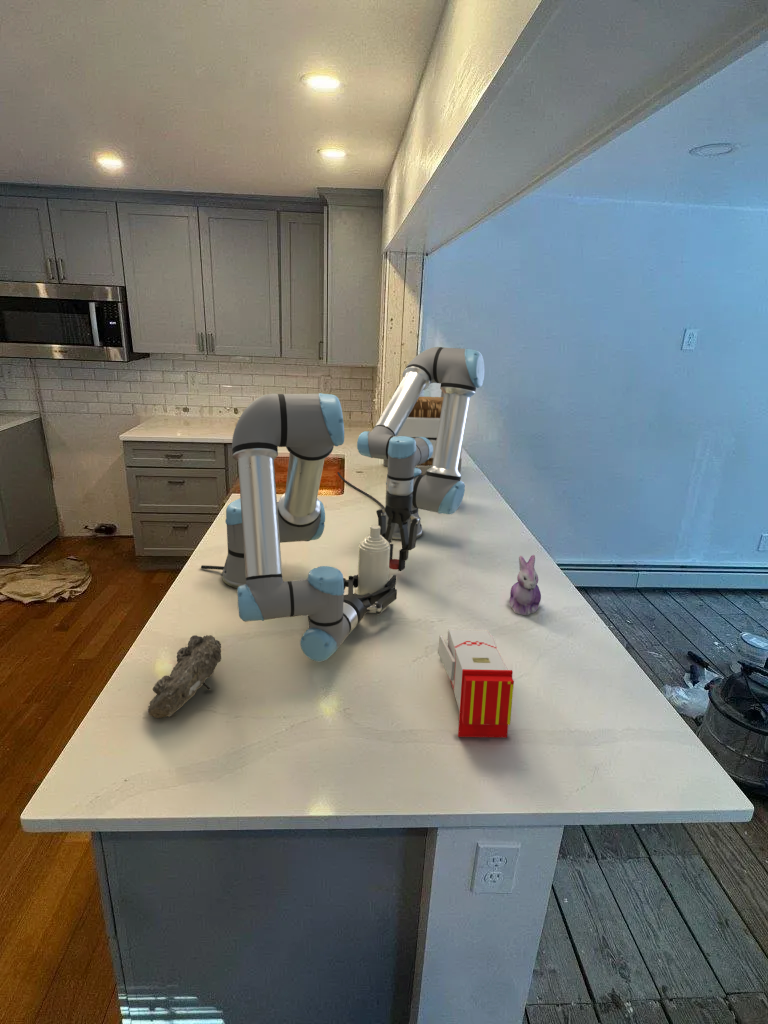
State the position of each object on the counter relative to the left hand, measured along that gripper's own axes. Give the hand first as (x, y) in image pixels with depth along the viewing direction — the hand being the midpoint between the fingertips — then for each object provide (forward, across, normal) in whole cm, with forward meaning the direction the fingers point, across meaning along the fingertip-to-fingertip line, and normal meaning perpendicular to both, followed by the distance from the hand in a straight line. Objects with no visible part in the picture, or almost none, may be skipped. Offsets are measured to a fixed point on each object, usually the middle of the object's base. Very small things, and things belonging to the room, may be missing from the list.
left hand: (379, 576), depth 153 cm
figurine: (+12, +38, -6) cm, 40 cm away
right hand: (+15, -1, -4) cm, 15 cm away
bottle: (-5, 0, -6) cm, 8 cm away
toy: (-30, +32, -6) cm, 45 cm away
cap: (+15, -1, -2) cm, 15 cm away
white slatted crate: (+125, -28, -6) cm, 128 cm away
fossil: (-52, -20, -6) cm, 56 cm away
